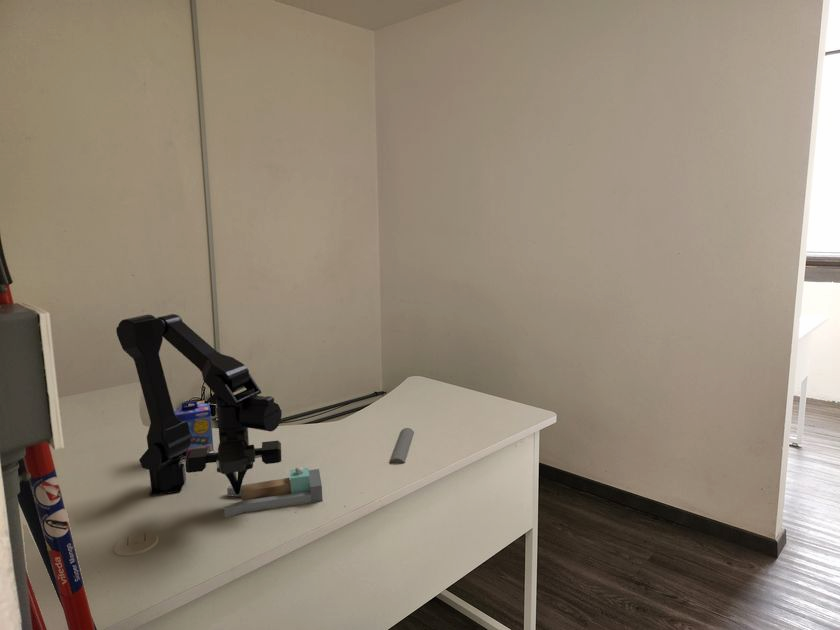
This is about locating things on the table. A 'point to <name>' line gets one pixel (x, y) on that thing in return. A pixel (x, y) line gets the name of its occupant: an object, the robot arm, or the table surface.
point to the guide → (277, 498)
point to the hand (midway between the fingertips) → (237, 493)
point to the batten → (266, 489)
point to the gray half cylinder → (402, 446)
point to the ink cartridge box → (197, 424)
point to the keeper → (299, 480)
